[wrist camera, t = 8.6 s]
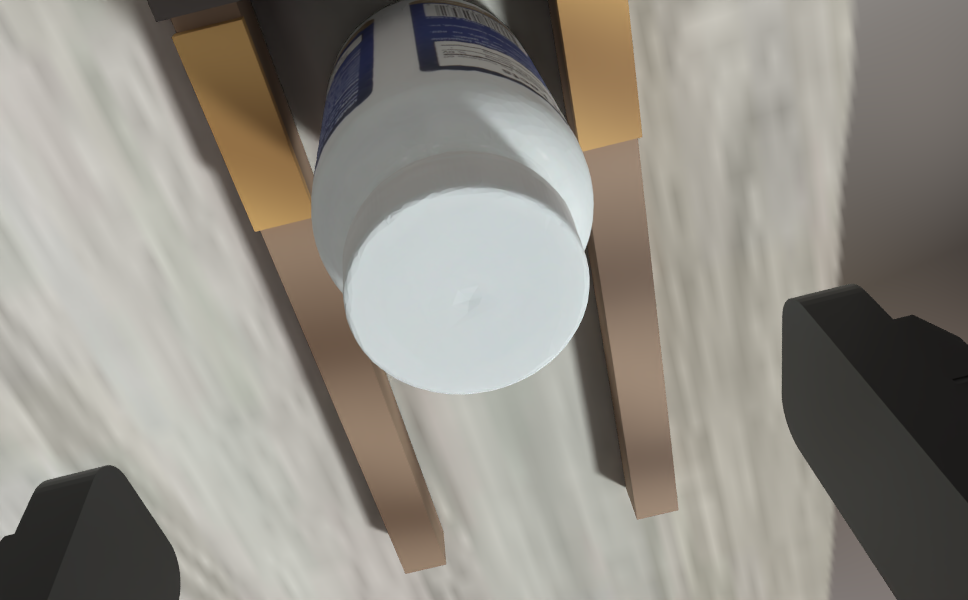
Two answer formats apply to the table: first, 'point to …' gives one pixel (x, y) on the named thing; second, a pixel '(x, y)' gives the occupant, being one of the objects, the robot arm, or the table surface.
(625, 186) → the guide channel
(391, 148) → the pill bottle
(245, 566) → the table surface
